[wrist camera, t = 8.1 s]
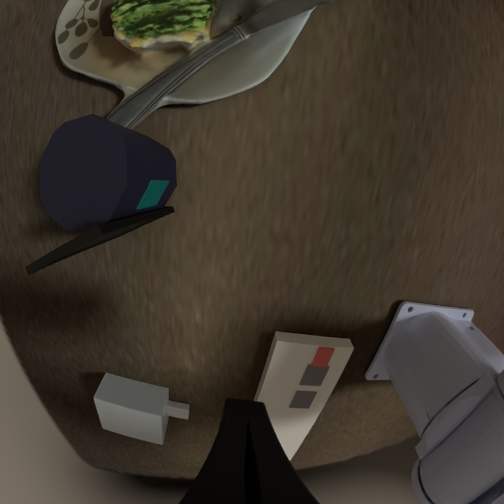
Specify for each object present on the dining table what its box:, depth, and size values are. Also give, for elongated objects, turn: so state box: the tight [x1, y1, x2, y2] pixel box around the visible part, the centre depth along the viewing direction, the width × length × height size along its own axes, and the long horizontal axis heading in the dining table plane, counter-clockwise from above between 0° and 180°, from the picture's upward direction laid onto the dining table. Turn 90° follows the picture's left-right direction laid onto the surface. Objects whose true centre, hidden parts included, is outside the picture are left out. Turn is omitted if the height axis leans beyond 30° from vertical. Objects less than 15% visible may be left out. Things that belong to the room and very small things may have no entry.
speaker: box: [25, 114, 177, 275], centre depth 13 cm, size 6×5×9 cm
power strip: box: [254, 331, 354, 461], centre depth 23 cm, size 6×18×1 cm, turn 169°
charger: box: [93, 373, 190, 445], centre depth 22 cm, size 8×5×4 cm, turn 79°
